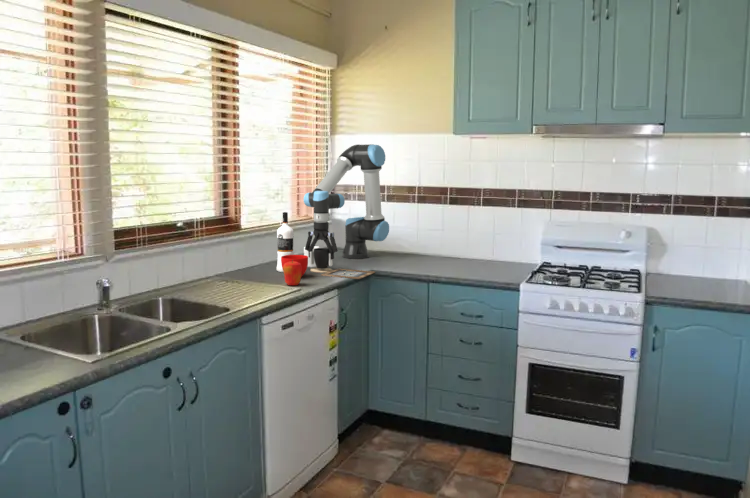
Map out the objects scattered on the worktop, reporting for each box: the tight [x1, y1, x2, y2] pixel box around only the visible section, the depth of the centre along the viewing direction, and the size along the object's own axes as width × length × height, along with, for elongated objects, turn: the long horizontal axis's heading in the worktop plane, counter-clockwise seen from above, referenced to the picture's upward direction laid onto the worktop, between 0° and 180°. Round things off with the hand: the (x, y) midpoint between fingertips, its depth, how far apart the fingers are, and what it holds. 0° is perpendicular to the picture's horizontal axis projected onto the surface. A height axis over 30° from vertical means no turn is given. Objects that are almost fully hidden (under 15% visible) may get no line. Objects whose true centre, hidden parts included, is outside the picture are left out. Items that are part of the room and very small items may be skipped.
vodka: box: [276, 211, 295, 273], centre depth 315 cm, size 9×9×30 cm
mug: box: [314, 247, 330, 269], centre depth 319 cm, size 8×12×10 cm
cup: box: [303, 245, 321, 268], centre depth 334 cm, size 8×12×10 cm
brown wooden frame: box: [320, 267, 376, 280], centre depth 311 cm, size 19×21×1 cm
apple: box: [283, 259, 302, 286], centre depth 283 cm, size 9×8×12 cm
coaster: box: [309, 267, 333, 274], centre depth 320 cm, size 11×11×1 cm
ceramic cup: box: [281, 254, 308, 278], centre depth 303 cm, size 13×17×10 cm
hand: (321, 264), depth 319 cm, fingers closed on mug, 10 cm apart
